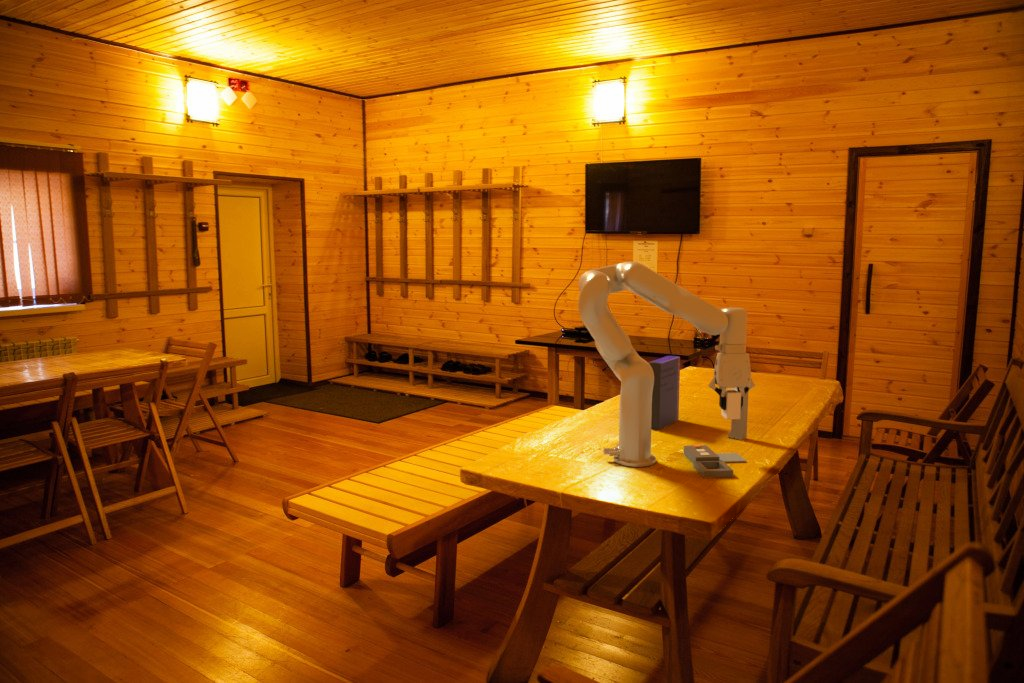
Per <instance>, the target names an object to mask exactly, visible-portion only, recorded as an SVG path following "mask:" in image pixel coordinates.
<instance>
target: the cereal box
mask: <svg viewBox="0 0 1024 683" xmlns="http://www.w3.org/2000/svg"><path fill="white" fill-rule="evenodd" d="M647 362H648V363H649V364H650V366H651V367H652V369H653V372H654V385H653V392H652V418H651V430H653V429H655V430H654V431H661V430H662V428H663V429H664V427H665V428H667V427H668V426H670V425H672V424H674V423H676V422H678V421H679V418H680V417H679V415H680V413H679V412H680V410H679V408H680V379H681V377H680V376H681V375H680V374H681V372H680V371H681V357H680V356H678V355H677V356H676V355H666V356H663V357H660V358H657V359H654V360H651V361H647ZM677 420H678V421H677ZM675 421H676V422H675ZM666 426H667V427H666ZM660 429H661V430H660Z"/></svg>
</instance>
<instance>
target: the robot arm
mask: <svg viewBox="0 0 1024 683" xmlns="http://www.w3.org/2000/svg"><path fill="white" fill-rule="evenodd" d="M577 285H578V289H579V296H578V300H577V302H578V303H577V310H578V313H579V318H580V319H581V322H582V323H583V325H584V326H585V328H586V329H587V331H588V333H589V334H590V336H591V337H592V338H593V340H594V345H595V348H596V350H597V352H599V354H600V356H601V357H602V359H603V360H604V362H605V363H606V364H607V366H608V367H609V368H610V370H611V371H612V372H613V374H614V375H615V377H616V378H617V379H618V380H619V381H620V392H619V406H618V408H619V412H618V413H619V415H618V416H619V418H618V419H619V421H618V426H619V428H618V432H619V433H618V443H617V444H616V446H613V447H604V448H603V449H602V452H603V455H608V456H610V457H613V460H614V462H615V463H616V464H618V465H621V466H626V467H634V468H640V467H649V466H653V465H654V464H656V462H657V458H656V456H655V455H654V454H652V449H651V448H652V429H651V418H652V392H653V385H654V372H653V369H652V367H651V366H650V364H649V363H648V362H649V361H647V360H645V359H644V358H642V357H641V356H640V355H639V353H638V352H637V351H636V349H635V348H634V347H633V345H632V340H631V339H630V337H629V335H628V334H627V332H626V331H625V330H624V329H623V328H622V326H621V325H620V324H619V322H618V321H617V319H616V318H615V316H614V315H613V313H612V312H611V310H610V308H609V306H608V299H609V295H612V294H615V293H620V292H623V291H627V290H628V291H629V292H631V293H632V294H634V295H636V296H638V297H640V299H643V300H645V301H647V302H648V303H650V304H652V305H654V306H655V307H657V308H659V309H660V310H662V311H663V312H666V313H668V314H671V315H673V316H676V317H678V318H681V319H682V320H685V321H686V322H689V323H690V324H692V325H693V326H694V328H696V329H697V330H698V331H701V332H703V333H706V334H708V335H711V336H718V335H719V342H718V345H717V344H716V345H715V346H714V348H715V351H718V352H717V353H716V354H717V355H716V358H715V363H714V370H713V377H712V379H711V380H710V382H709V383H708V385H707V386H708V387H709V388H710V389H711V390H713V391H714V392H716V393H717V394H718V396H719V398H718V399H719V403H718V405H719V407H720V409H721V410H722V409H723V410H726V397H725V393H726V390H727V388H728V389H732V388H737V391H739V392H740V393H741V409H742V406H743V396H745V394H746V393H747V392H748V393H749V391H750V390H751V389H753V388H754V387H755V383H754V381H753V380H752V370H751V359H750V355H749V354H750V353H748V352H747V332H748V331H747V329H748V328H747V326H748V312H747V310H746V309H745V308H743V307H737V306H736V307H735V306H733V307H732V306H729V307H723V308H722V307H716V306H715V305H713V304H711V303H709V302H707V301H706V300H704V299H703V298H701V297H698V296H697V295H696V294H693V293H692V292H690V291H688V290H686V289H685V288H684V287H682V286H680V285H679V284H677V283H675V282H673V281H672V280H670V279H668V278H666V277H664V276H663V275H661V274H659V273H658V272H656V271H654V270H653V269H651V268H650V267H648V266H646V265H645V264H643V263H640V262H636V261H632V260H631V261H624V262H619V263H615V264H612V265H607V266H603V267H599V268H593V269H590V270H586V271H585V272H584V273H583V274H581V275H580V277H579V279H578V284H577ZM716 385H717V386H718V387H717V386H716Z"/></svg>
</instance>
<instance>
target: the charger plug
mask: <svg viewBox="0 0 1024 683" xmlns="http://www.w3.org/2000/svg"><path fill="white" fill-rule="evenodd" d="M730 389H731V390H730ZM730 389H726V393H725V397H726V410H723V409H721V412H720V413H721V416H722V417H723V418H724V419H726V420H732V419H740V412H741V393H740V392H739V391H737V390H735V389H732V388H730Z"/></svg>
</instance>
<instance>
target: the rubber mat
mask: <svg viewBox="0 0 1024 683" xmlns="http://www.w3.org/2000/svg"><path fill="white" fill-rule="evenodd" d="M715 453H716V452H715ZM716 454H717V455H718V456H719V460H722V461H723V462H735V464H739V462H740V463H741V464H742V463H743V462H744V463H747V460H746V459H745V458H743V456H741V455H740V454H739V453H738V452H722V453H721V452H719V453H716Z"/></svg>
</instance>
